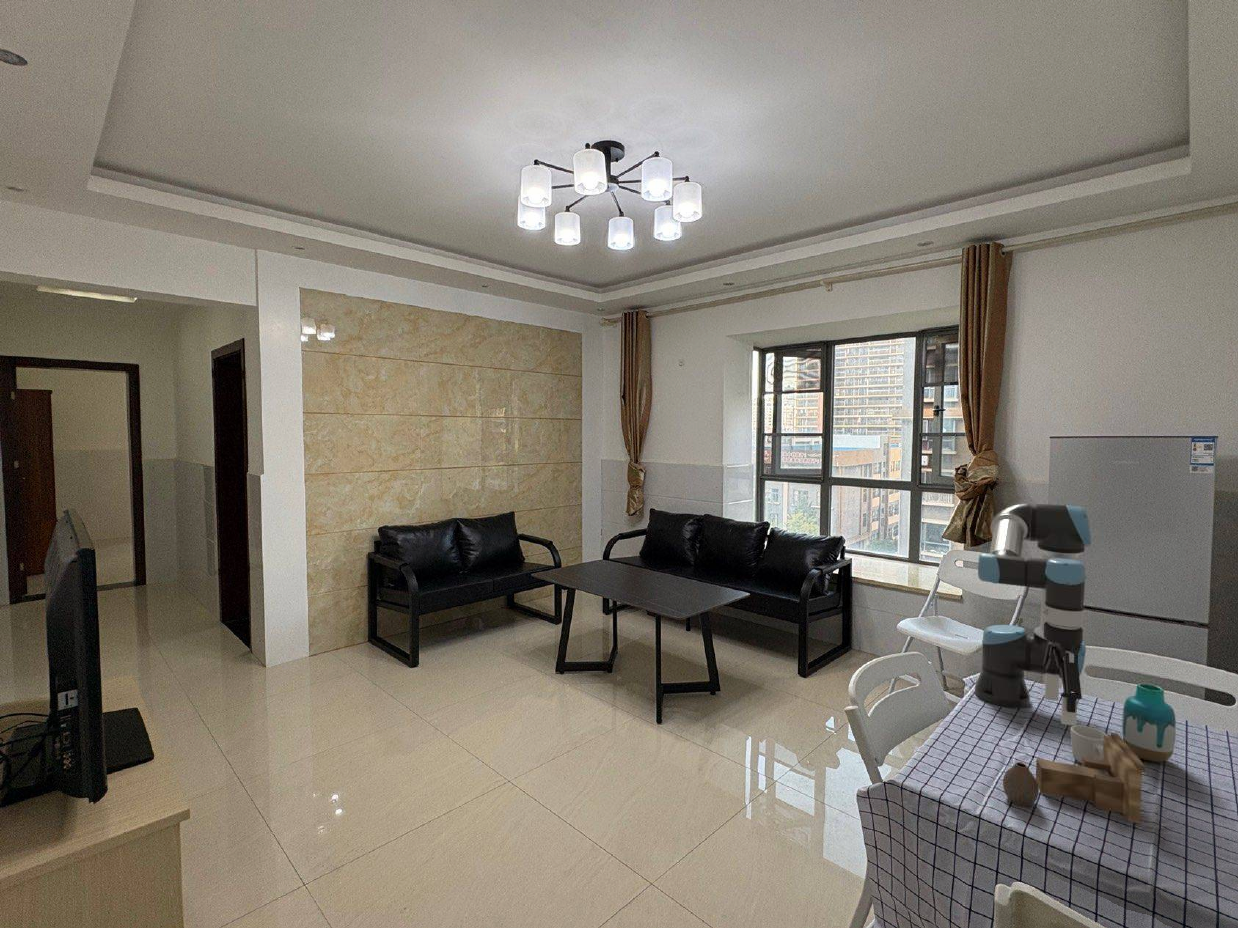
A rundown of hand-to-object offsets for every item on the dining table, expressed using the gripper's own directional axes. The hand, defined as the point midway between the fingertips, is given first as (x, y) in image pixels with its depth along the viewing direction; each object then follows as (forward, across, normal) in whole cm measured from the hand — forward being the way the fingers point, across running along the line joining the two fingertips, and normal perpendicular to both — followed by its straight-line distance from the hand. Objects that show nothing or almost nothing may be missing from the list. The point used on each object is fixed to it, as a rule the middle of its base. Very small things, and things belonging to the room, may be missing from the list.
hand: (1059, 711), depth 145 cm
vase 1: (+19, +10, -10) cm, 23 cm away
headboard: (+19, +1, +10) cm, 21 cm away
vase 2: (+20, -26, +27) cm, 42 cm away
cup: (+20, -16, +12) cm, 28 cm away
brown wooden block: (+19, +1, +3) cm, 19 cm away
